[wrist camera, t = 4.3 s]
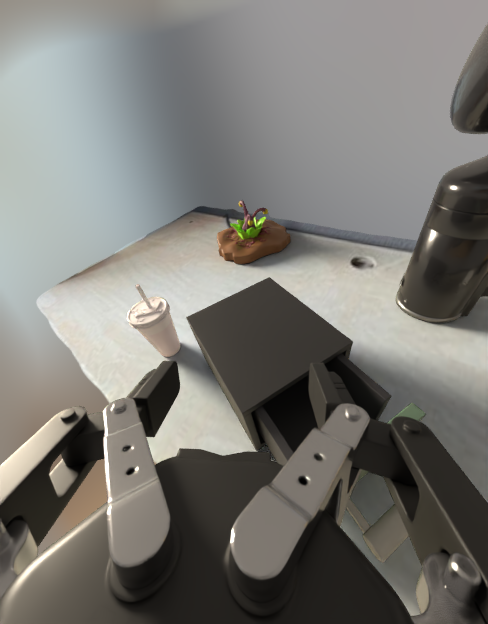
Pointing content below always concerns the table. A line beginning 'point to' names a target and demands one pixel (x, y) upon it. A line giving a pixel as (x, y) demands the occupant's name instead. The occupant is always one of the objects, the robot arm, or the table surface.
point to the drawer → (301, 420)
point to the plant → (252, 238)
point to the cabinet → (263, 346)
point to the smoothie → (155, 323)
